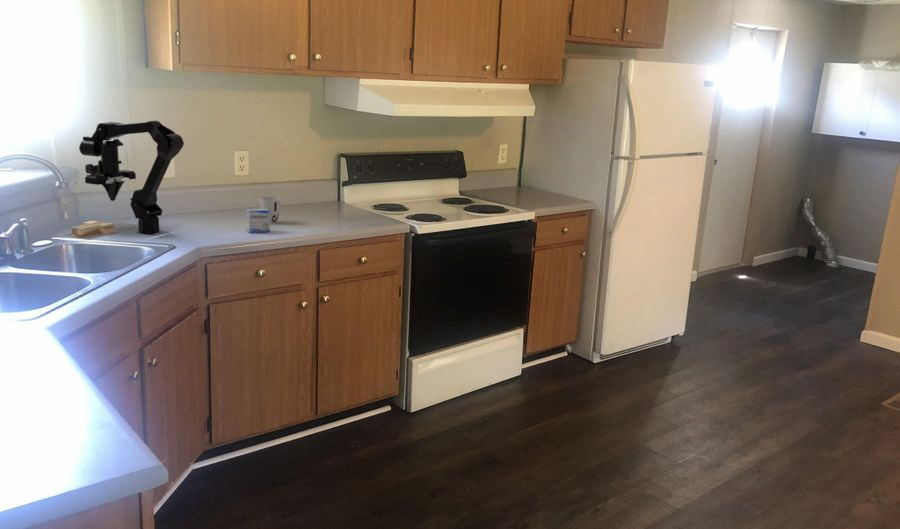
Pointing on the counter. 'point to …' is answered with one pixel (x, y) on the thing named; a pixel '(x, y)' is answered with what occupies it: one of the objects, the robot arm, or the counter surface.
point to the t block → (92, 228)
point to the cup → (271, 207)
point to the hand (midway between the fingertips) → (112, 200)
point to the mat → (117, 228)
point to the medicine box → (258, 220)
